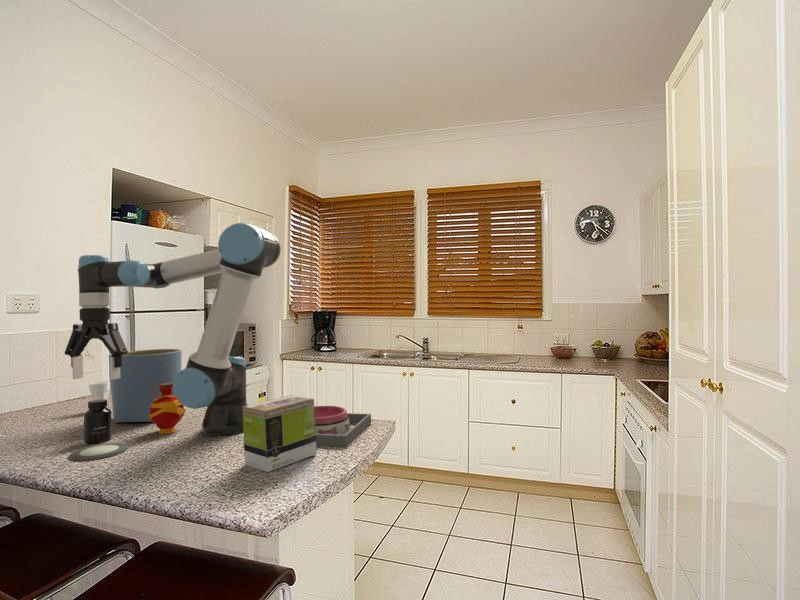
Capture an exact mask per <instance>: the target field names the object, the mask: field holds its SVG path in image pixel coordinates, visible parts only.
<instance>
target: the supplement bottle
mask: <svg viewBox="0 0 800 600" xmlns="http://www.w3.org/2000/svg"><path fill="white" fill-rule="evenodd" d="M107 406H108V408H107ZM87 408H88V410H86V411H85V412H84V413H83V442H84V443H85V445H99V444H104V443H105V442H108V441H110V440H111V439H112V410H111V409H110V408H109V403H108V404H107V400H106V399H100V400H92V399H91V400H90V401H88V402H87Z"/></svg>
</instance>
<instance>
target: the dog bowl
mask: <svg viewBox="0 0 800 600" xmlns="http://www.w3.org/2000/svg"><path fill="white" fill-rule="evenodd" d="M314 412H315V431H316V434H334V435H345V434H346V433H347V432H348V431H349V430H350V429H352V428H353V427H352V425H351V423H350V422H349V418H348V415H347V413H348V412H347V410H346V408H345V407H342V406H338V405H337V406H336V405H314Z"/></svg>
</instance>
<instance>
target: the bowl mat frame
mask: <svg viewBox="0 0 800 600" xmlns="http://www.w3.org/2000/svg"><path fill="white" fill-rule="evenodd" d="M347 415H348V418H349V422H350V424H355V425H354V426H353V427H351V428H352V429H350V430H349V431H348V432H347V433H346V434H345V435H334V434H316V447H318V446H320V447H339V448H340V447H343V448H347V447H348V446H349V445H350V444H351V443H352V442H353V441H354V440H355V439H356V438H357V437H358V436H359V435H360V434H361V433H363V432H364V431H365V430H366V429H367V428H368V427H369V426H370V425H371V424H372V413H351V412H350V413H348V412H347Z"/></svg>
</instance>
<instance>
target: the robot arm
mask: <svg viewBox="0 0 800 600" xmlns="http://www.w3.org/2000/svg"><path fill="white" fill-rule="evenodd" d="M217 248H218V249H217ZM217 248H216V249H212V250H208V251H205V252H200V253H196V254H191V255H188V256H182V257H178V258H174V259H170V260H169V259H168V260H166V261H161V262H156V263H145V262H144V261H142V260H133V259H130V260H129V259H128V260H120V261H119V260H118V261H109V257H108V256H107V255H100V254H85V255H81V256H80V257H79V258H78V264H77V265H78V267H77V272H78V273H77V274H78V290H79V291H78V307H81V308H80V309H79V321H81V322H82V323H74V324H73V325H72V332H71V335H70V337H69V340H68V343H67V345H66V348H65V351H64V355H65V356H69V357H70V359H71V361H70V362H71V365H70V366H71V368H72V379H73V380H77V379H82V378H84V364H83V363H84V361H83V354H82V353H83V352H84V350H85V348H86V347H87V345H88V344H89V343H90V341H91V340H93V339H95V340H96V339H98V340H100V341H101V342H102V343H103V344H104V347H106V348H107V350H108V351H109V353H110V354H112V356H111V357H110V369H109V372H110V371H111V379H112V380H113V379H118V378H121V376H120V367H121V366H122V355H124V354H127V353H128V351H129V350H128V347H126V344H125V342H124V341H125V340H124V339H123V337H122V335H121V333H120V331H119V326H118V325H119V324H118V323H117V322H111V323H110V322H108V321H109V320H110V319H111V309H110V303H111V302H110V288H113V287H114V288H116V287H117V288H118V287H119V288H120V287H123V288H124V287H130V288H148V289H149V288H152V289H165V288H167V287H169V286H170V285H172V284H178V283H182V282H185V281H191V280H195V279H199V278H205V277H210V276H214V275H218V274H221V277H220V279H219V282H218V285H217V289H216V291H215V294H214V298H213V301H212V304H211V307H210V311H209V312H208V316H207V320H206V323H205V326H204V328H203V332H202V335H201V339H200V341H199V345H198V346H197V347H198V348H197V350H196V351H195V352H192V353H191V354H190V355H189V357H188V360H187V363H186V366H185V368H183V369H181V371H180V372H179V373H178V374H177V375H176V377H175V379H174V382H173V391H174V394H175V396H176V397H177V400H178V401H179V402H180V403H181V404H182V405H183V406H184V407H187V408H188V409H194V410H195V409H202V408H206V411H205V414H204V418H203V420H202V424H201V432H202V434H204V435H208V436H225V435H234V434H238V433H244V431H243V406H247V405H248V402H247V365H246V359H245V358H244V357H242V356H230V352H231V350H232V347H233V344H234V341H235V338H236V334H237V332H238V329H239V325H240V322H241V320H242V317H243V313H244V310H245V308H246V305H247V302H248V301H247V300H248V297H249V295H250V292H251V289H252V285H253V283H254V281H255V280H257V279H259V278H261V275H262V274H263V271H264V270H263V269H266V268H268V267H271V266H272V265H274V264H275V263H276V262H277V261H278V260H279V258H280V255H281V244H280V241H279V239H278V238H277V236H275V234H274V233H272V231H271V232H270V231H269V230H266V229H263V228H261V227H259V226H256V225H254V224H250V223H247V222H246V223H245V222H237V223H236V222H235V223H234V224H231V225H229V226H227V227H226V228H225V229H224V230H223V231H222V232H221V234H220V236H219V239H218V244H217Z"/></svg>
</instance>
